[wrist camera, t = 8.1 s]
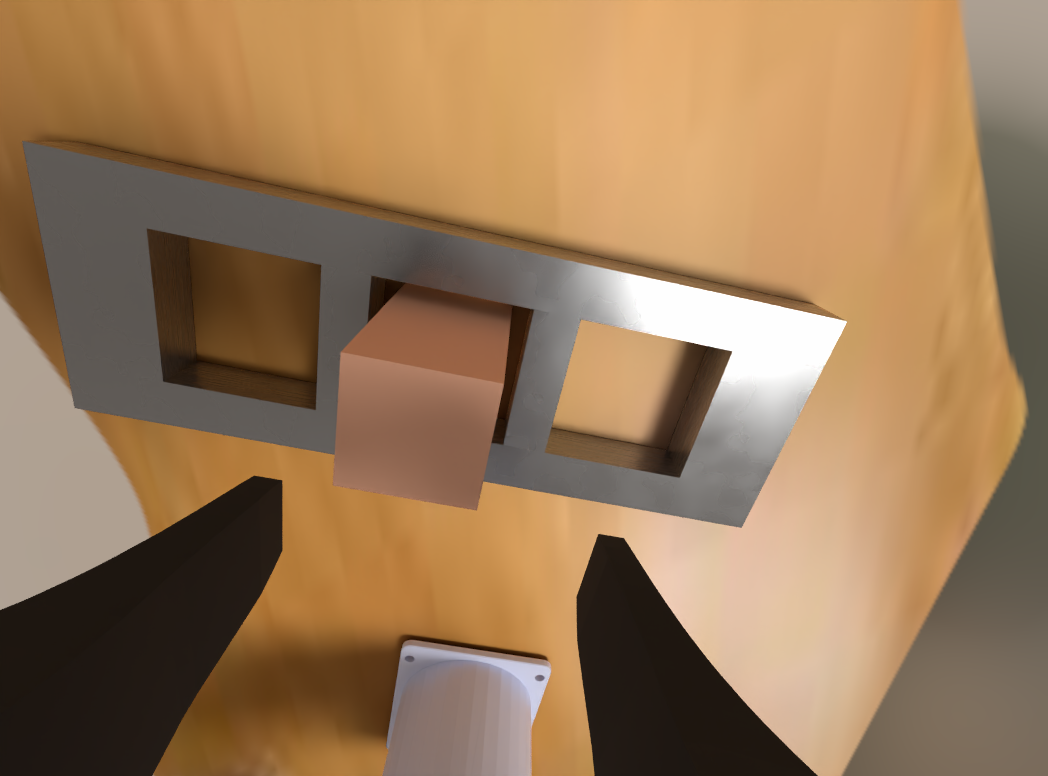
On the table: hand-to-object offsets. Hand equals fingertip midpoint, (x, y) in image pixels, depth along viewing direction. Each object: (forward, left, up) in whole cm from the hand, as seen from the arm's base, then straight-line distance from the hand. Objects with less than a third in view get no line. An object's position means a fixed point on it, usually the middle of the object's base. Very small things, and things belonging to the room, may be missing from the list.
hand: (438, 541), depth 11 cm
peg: (+1, +1, -9) cm, 10 cm away
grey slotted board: (+1, +1, -9) cm, 9 cm away
